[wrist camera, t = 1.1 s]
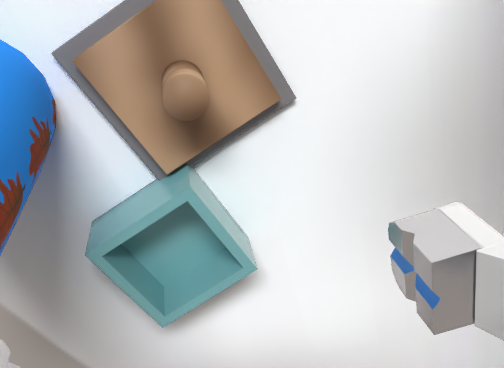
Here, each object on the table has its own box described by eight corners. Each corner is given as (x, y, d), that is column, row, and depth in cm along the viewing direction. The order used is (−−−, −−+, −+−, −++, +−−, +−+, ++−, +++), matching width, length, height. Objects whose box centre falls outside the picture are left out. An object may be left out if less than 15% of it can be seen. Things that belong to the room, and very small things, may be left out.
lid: (200, -32, 30) (208, -26, 26) (278, 94, 35) (296, 117, 31) (74, 57, 31) (61, 77, 27) (166, 168, 36) (168, 200, 32)
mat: (203, -57, 30) (204, -56, 30) (294, 95, 36) (296, 97, 36) (53, 51, 32) (51, 53, 31) (163, 181, 37) (163, 185, 37)
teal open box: (186, 159, 37) (190, 186, 33) (247, 237, 41) (257, 268, 37) (92, 221, 38) (85, 254, 34) (161, 290, 42) (162, 327, 38)
